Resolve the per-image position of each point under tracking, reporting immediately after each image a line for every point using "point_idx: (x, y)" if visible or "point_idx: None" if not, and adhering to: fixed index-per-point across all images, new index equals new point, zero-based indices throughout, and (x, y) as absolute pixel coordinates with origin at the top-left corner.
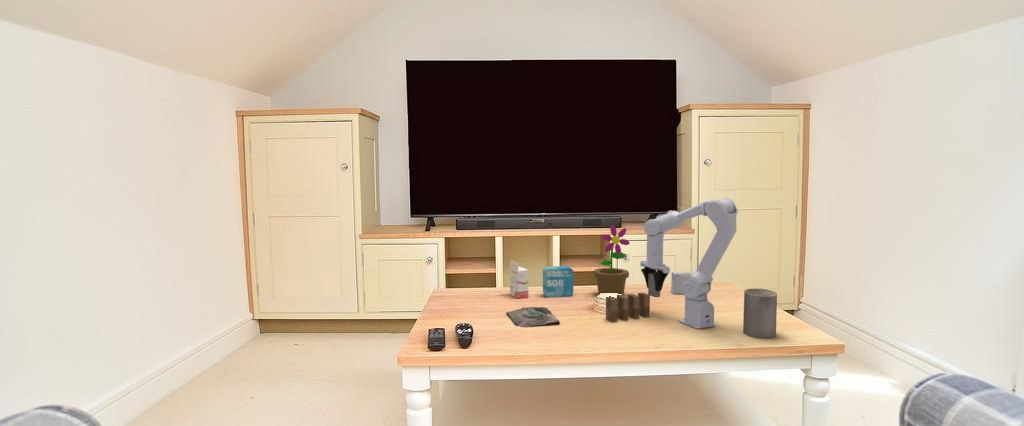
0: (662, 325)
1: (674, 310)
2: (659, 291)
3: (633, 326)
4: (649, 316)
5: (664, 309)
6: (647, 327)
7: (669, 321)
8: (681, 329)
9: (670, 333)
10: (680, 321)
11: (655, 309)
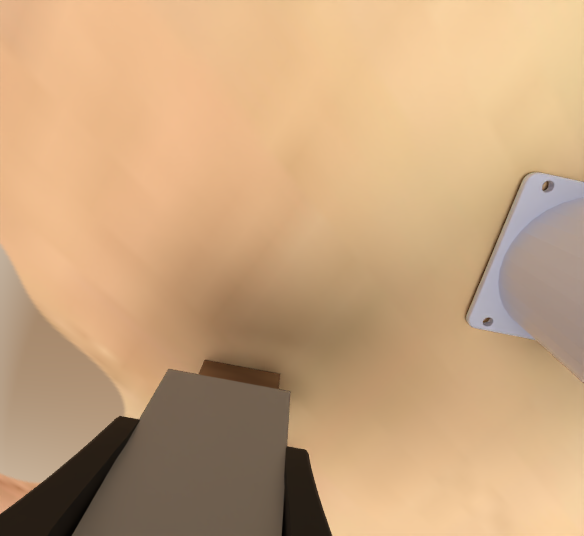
0: (434, 432)
1: (264, 109)
2: (285, 443)
3: (345, 528)
4: (279, 377)
5: (199, 155)
6: (400, 499)
7: (416, 353)
8: (551, 413)
9: (538, 490)
10: (484, 328)
11: (165, 212)
